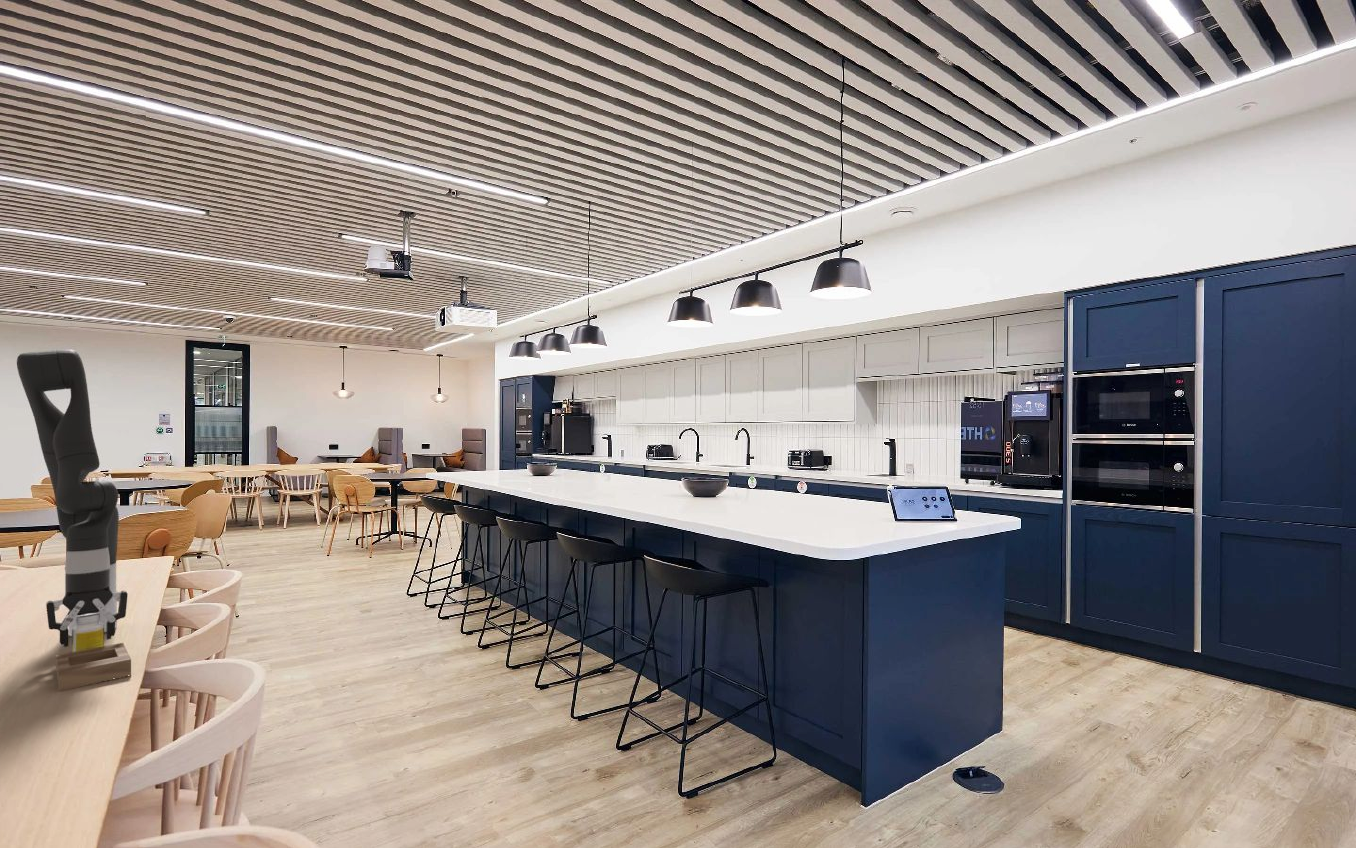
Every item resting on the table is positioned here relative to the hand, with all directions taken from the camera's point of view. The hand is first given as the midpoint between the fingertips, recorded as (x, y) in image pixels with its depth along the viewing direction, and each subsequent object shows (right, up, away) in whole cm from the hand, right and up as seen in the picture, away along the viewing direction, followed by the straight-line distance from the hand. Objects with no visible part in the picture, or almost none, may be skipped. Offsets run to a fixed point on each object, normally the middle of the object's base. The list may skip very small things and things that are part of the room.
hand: (88, 642), depth 148 cm
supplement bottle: (0, -4, 0) cm, 4 cm away
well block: (+10, -3, -10) cm, 14 cm away
